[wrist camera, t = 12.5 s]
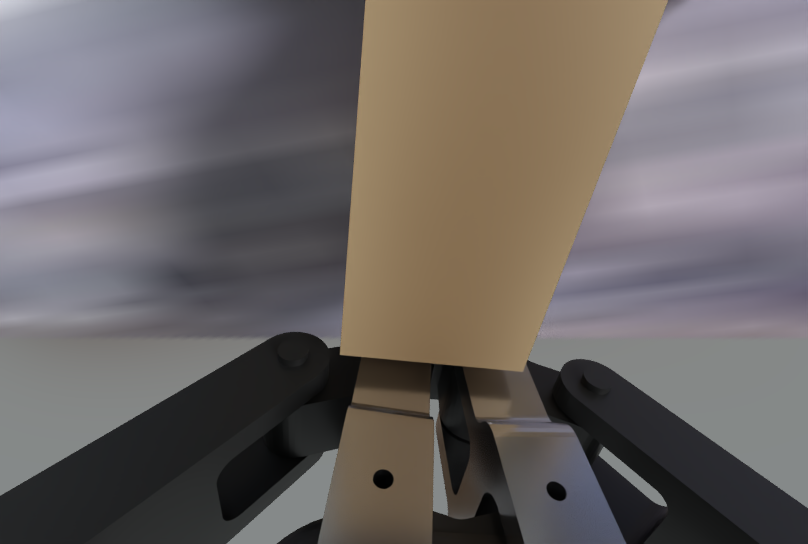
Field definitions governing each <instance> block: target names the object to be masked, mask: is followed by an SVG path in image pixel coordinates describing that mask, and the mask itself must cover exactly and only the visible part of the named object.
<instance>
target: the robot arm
mask: <svg viewBox="0 0 808 544" xmlns="http://www.w3.org/2000/svg"><path fill="white" fill-rule="evenodd" d="M430 399H438V400H439V414H438V418H437V422H436V433H437V440H438V446H439V452H440V459H441V464H442V471H443V477H444V484H445V490H446V496H447V504H448V516H446V515H443V514H440V513H437V512H434V511H433V463H434V459H433V458H434V420H433V417H430V415H429V409H430ZM603 447H605V448H607V449H608V450H609V451H610V452H612V453H613V454H614V455H615V456H616V457H617V458H619V459H620V460H621V461H622V462H624V463H625V464H626V465H627V466H628V467H630V468H631V469H632V470H633V471H634V472H636V473H637V474H638V475H639V476H640V477H641V478H643V479H644V480H645V481H646V482H647V483H649V484H650V485H651V486H652V487H653V488H655V489H656V490H657V491H658V492H659V493H660V494H661V495H662V497H663V498H664V500H665V502H666V504H667V507H664V506H660V505H658V504H656V503H654V502H653V501H651V500H650V499H649V498H648V497H646V496H645V495H644V494H643V493H642V492H640V491H639V490H638V489H637V488H636V487H635V486H633V485H632V484H631V483H630V482H629V481H628V480H626V479H625V478H624V477H623V476H622V475H621V474H619V473H618V472H617V471H616V470H615V469H614V468H612V467H611V466H610V465H609V464H608V463H607V462H605V461H604V460H603V459H602V458H601V457H600V456H598V455H599V453H600V451H601V450H602V448H603ZM338 448H339V449H338ZM333 449H338V454H337V458H336V463H335V467H334V471H333V476H332V481H331V485H330V489H329V494H328V499H327V503H326V508H325V512H324V517H323V518H322V519H320V520H317V521H314V522H311V523H309V524H308V525H305V526H303V527H301V528H299V529H297V530H296V531H294V532H293V533H291V534H289V535H288V536H286V537H285V538H284V539H282V540H281V541H280V542H279V543H277V544H808V508H807V507H805V506H804V505H802V504H801V503H799V502H798V501H797V500H795V499H794V498H792V497H791V496H790V495H788V494H787V493H785V492H784V491H783V490H781V489H780V488H778V487H777V486H775V485H774V484H773V483H771V482H770V481H768V480H767V479H765V478H764V477H763V476H761V475H760V474H758V473H757V472H755V471H754V470H753V469H751V468H750V467H749V466H747V465H746V464H744V463H743V462H741V461H740V460H739V459H737V458H736V457H734V456H733V455H731V454H730V453H729V452H727V451H726V450H724V449H723V448H722V447H720V446H719V445H717V444H716V443H715V442H713V441H711V440H710V439H709V438H707V437H706V436H704V435H703V434H702V433H700V432H699V431H698V430H696V429H695V428H693V427H692V426H690V425H689V424H688V423H686V422H685V421H683V420H682V419H680V418H679V417H678V416H676V415H675V414H673V413H672V412H670V411H669V410H668V409H666V408H665V407H664V406H662V405H661V404H659V403H658V402H657V401H655V400H654V399H652V398H651V397H649V396H648V395H646V394H645V393H644V392H642V391H641V390H639V389H638V388H637V387H635V386H634V385H632V384H631V383H630V382H628V381H627V380H625V379H624V378H622V377H621V376H620V375H618V374H617V373H615V372H614V371H612V370H611V369H609V368H608V367H606V366H604V365H602V364H600V363H597V362H594V361H591V360H584V359H576V360H571V361H569V362H567V363H566V364H564V366H563V367H562V369H561V371H560V372H559V371H556V370H553V369H550V368H547V367H544V366H541V365H538V364H535V363H533V362H530V361H528V360H527V362H526V365H525V368H524V370H523V372H520V371H509V370H498V369H487V368H477V367H466V366H455V365H444V364H433V363H423V362H412V361H401V360H390V359H380V358H369V357H358V356H347V355H340V347H334V348H328V347H327V346H326V344H325V343H324V342H323V341H322V340H321V339H319V338H318V337H316V336H314V335H311V334H308V333H302V332H288V333H283V334H279V335H276V336H274V337H272V338H270V339H268V340H267V341H265V342H264V343H262V344H260V345H258V346H257V347H255V348H253V349H251V350H250V351H248V352H246V353H244V354H243V355H241V356H239V357H238V358H236V359H234V360H233V361H231V362H229V363H227V364H226V365H224V366H222V367H221V368H219V369H217V370H215V371H214V372H212V373H210V374H208V375H207V376H205V377H203V378H202V379H200V380H198V381H196V382H195V383H193V384H191V385H190V386H188V387H186V388H184V389H183V390H181V391H179V392H178V393H176V394H174V395H172V396H171V397H169V398H167V399H166V400H164V401H162V402H160V403H159V404H157V405H155V406H154V407H152V408H150V409H149V410H147V411H145V412H143V413H142V414H140V415H138V416H136V417H135V418H133V419H132V420H130V421H128V422H126V423H124V424H123V425H121V426H119V427H118V428H116V429H114V430H112V431H111V432H109V433H107V434H106V435H104V436H102V437H100V438H99V439H97V440H95V441H94V442H92V443H90V444H88V445H87V446H85V447H83V448H82V449H80V450H78V451H76V452H75V453H73V454H71V455H70V456H68V457H67V458H64V459H63V460H61V461H59V462H58V463H56V464H54V465H52V466H51V467H49V468H47V469H46V470H44V471H42V472H41V473H39V474H37V475H36V476H34V477H32V478H30V479H28V480H27V481H25V482H23V483H22V484H20V485H18V486H16V487H15V488H13V489H11V490H10V491H8V492H6V493H4V494H3V495H1V496H0V544H226V543H227V542H229V541H230V540H231V539H232V538H233V537H234V536H235V535H236V534H238V533H239V532H240V531H241V530H242V529H243V528H244V527H245V526H246V525H248V524H249V523H250V522H251V521H252V520H253V519H254V518H255V517H256V516H257V515H258V514H260V513H261V512H262V511H263V510H264V509H265V508H266V507H267V506H269V505H270V504H271V503H272V502H273V501H274V500H275V499H276V498H277V497H279V496H280V495H281V494H282V493H283V492H284V491H285V490H286V489H287V488H289V487H290V486H291V485H292V484H293V483H294V482H295V481H296V480H297V479H299V478H300V477H301V476H302V475H303V474H304V473H305V472H306V471H307V470H309V469H310V468H311V467H312V466H313V465H314V464H315V463H316V462H317V461H318V460H319V459H320V457H321V456H322V454H323V452H325V451H329V450H333Z"/></svg>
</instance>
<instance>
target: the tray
mask: <svg viewBox="0 0 808 544" xmlns="http://www.w3.org/2000/svg"><path fill="white" fill-rule="evenodd" d="M667 2H668V0H365V14H364V28H363V42H362V56H361V69H360V83H359V97H358V111H357V125H356V139H355V152H354V166H353V180H352V194H351V208H350V221H349V235H348V249H347V263H346V277H345V290H344V304H343V318H342V332H341V346H340V355H347V356H358V357H369V358H380V359H390V360H401V361H412V362H423V363H433V364H444V365H455V366H466V367H477V368H487V369H498V370H509V371H520V372H523V370H524V368H525V365H526V362H527V360H528V357H529V355H530V352H531V350H532V347H533V344H534V342H535V339H536V337H537V334H538V332H539V329H540V327H541V324H542V322H543V319H544V316H545V314H546V311H547V309H548V306H549V304H550V301H551V299H552V296H553V293H554V291H555V288H556V286H557V283H558V281H559V278H560V276H561V273H562V270H563V268H564V265H565V263H566V260H567V258H568V255H569V253H570V250H571V247H572V245H573V242H574V240H575V237H576V235H577V232H578V230H579V227H580V224H581V222H582V219H583V217H584V214H585V212H586V209H587V207H588V204H589V201H590V199H591V196H592V194H593V191H594V189H595V186H596V184H597V181H598V178H599V176H600V173H601V171H602V168H603V166H604V163H605V161H606V158H607V155H608V153H609V150H610V148H611V145H612V143H613V140H614V138H615V135H616V132H617V130H618V127H619V125H620V122H621V120H622V117H623V115H624V112H625V110H626V107H627V104H628V102H629V99H630V97H631V94H632V92H633V89H634V87H635V84H636V81H637V79H638V76H639V74H640V71H641V69H642V66H643V64H644V61H645V58H646V56H647V53H648V51H649V48H650V46H651V43H652V41H653V38H654V35H655V33H656V30H657V28H658V25H659V23H660V20H661V18H662V15H663V12H664V10H665V7H666V5H667Z"/></svg>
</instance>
